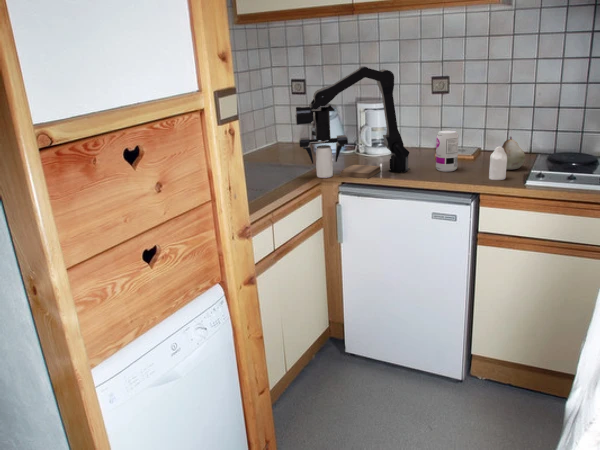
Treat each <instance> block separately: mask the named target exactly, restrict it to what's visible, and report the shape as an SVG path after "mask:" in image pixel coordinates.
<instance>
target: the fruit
mask: <svg viewBox="0 0 600 450" xmlns="http://www.w3.org/2000/svg"><path fill="white" fill-rule="evenodd" d="M501 147H503V149H504V151H505V153H506V155H507V166H506V171H508V170H518V169H520V168H521V167H522V166H523V164H524V163H525V161H526V154H525V152H524V150H523V148H522V147H521V146H519V144H518V142H517V141H516V140H514V139H513V138H512V136H509V139H506V140H505V141H504V142H503V144H502V146H501Z"/></svg>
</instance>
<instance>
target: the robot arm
mask: <svg viewBox="0 0 600 450" xmlns="http://www.w3.org/2000/svg"><path fill="white" fill-rule="evenodd" d="M365 78H367V79H370V80H374V81H376V83H377V87H378V89H379V91H380V94H381V98H382V105H383V110H384V119H385V124H386V125H385V126H386V134H382V138H383V140H384V142H383V145H384V146H385V148H386V149H387V150H388V151H390V154H391V155H390V158H389V171H388V172H390V173H391V172H392V173H407V172H408V171H409V170H410V167H409V155H410V151H409V150H408V149H407V148H406V147H405V145H404V142H403V139H402V136H401V133H400V131H399V129H398V121H397V114H396V106H395V99H394V87H395V74H394V73H393V71H391V70H389V69H385V68H384V69H383V68H382V69H380V70H376V69H373V68H371V67H370V68H369V67H368V66H365V65H364V66H363V65H361V66H360V67H359V68H357V69H355V70H354V71H353V72H351V73H350V74H348V75H346V76H345V77H343V78H342V79H340V80H338V81H336V82H335V83H333V84H330V85H327V86H324V87H322V88H320V89H317V90H316V91H315V92H314V93H313V98H312V100H311V102H310V103H309V105H308V106H295V125H296V126H299V125H300V126H301V125H311V124H312V123H313V122H314V125H315V127H311V137H315V138H314V139H312V138H311V139H310V137H308V136H307V137H305V136H304V137H300V138H299V148H302V149H303V150H306V152H307V154H308V156H309V159H310V161H311V164H314V157H313V152H312V147H311V145H321V144H322V145H323V144H335V158H334V159H335V160H334V162H335V163H337V162H338V159H339V156H340V152H341V151H342V148H344V147H345V145H349V138H348V136H347V135H345V134H343V135H341V134H340V135H336V137H332V136H331V115H330V114H331V112H335V111H336V110H335V108H334V107H333V106H332V105H331V104H329V103H331V101H333V100H334V98H335V97H336V96H337V95H339V94H340V93H342V92H343V91H345V90H346V89H349V88H350V87H351V86H353V85H355V84H356V83H358V82H360V81H361V80H364V79H365Z"/></svg>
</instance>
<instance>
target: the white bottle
mask: <svg viewBox="0 0 600 450" xmlns="http://www.w3.org/2000/svg"><path fill="white" fill-rule="evenodd" d="M489 156H490V158H489V171H488V172H489V173H488V179H489V180H492V181H501V180H505V179H506V176H507V175H506V174H507V169H506V166H507V155H506V153H505V151H504V149H503V147H502V146H500V145H499V146H497V147H495V148H494V151H493V152H492V153H491V154H490V155H489Z"/></svg>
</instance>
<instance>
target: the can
mask: <svg viewBox="0 0 600 450" xmlns="http://www.w3.org/2000/svg"><path fill="white" fill-rule="evenodd" d="M331 147H332V146H331V145H328V144H325V145H323V144H322V145H321V144H320V145H317V146H316V149H315V167H316V177H317V178H319V179H329V178H332V177H333V175H334V171H333V170H334V168H333V167H334V165H333V150H332V148H331Z"/></svg>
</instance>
